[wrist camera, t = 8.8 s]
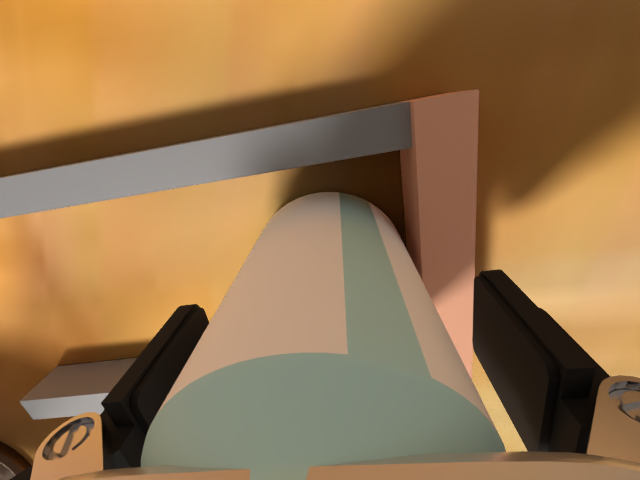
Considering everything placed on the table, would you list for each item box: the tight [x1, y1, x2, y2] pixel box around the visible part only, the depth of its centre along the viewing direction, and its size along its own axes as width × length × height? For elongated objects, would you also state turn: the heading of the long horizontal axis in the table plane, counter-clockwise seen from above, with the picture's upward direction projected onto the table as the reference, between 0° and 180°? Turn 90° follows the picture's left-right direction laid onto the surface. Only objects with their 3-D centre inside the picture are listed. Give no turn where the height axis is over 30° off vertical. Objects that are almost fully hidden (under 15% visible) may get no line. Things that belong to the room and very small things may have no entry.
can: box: [141, 192, 506, 480], centre depth 10 cm, size 7×7×12 cm
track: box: [0, 89, 479, 420], centre depth 15 cm, size 24×13×3 cm, turn 100°
